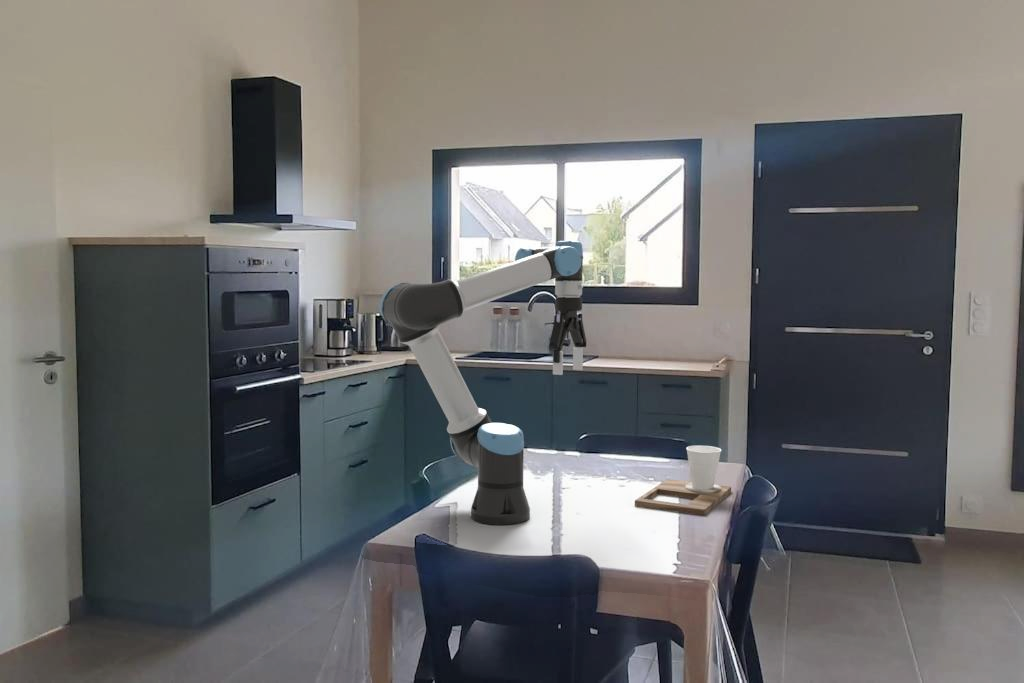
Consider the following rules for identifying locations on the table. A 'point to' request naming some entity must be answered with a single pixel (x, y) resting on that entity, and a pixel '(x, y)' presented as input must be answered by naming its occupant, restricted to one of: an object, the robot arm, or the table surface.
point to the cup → (703, 465)
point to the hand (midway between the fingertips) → (567, 372)
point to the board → (699, 505)
